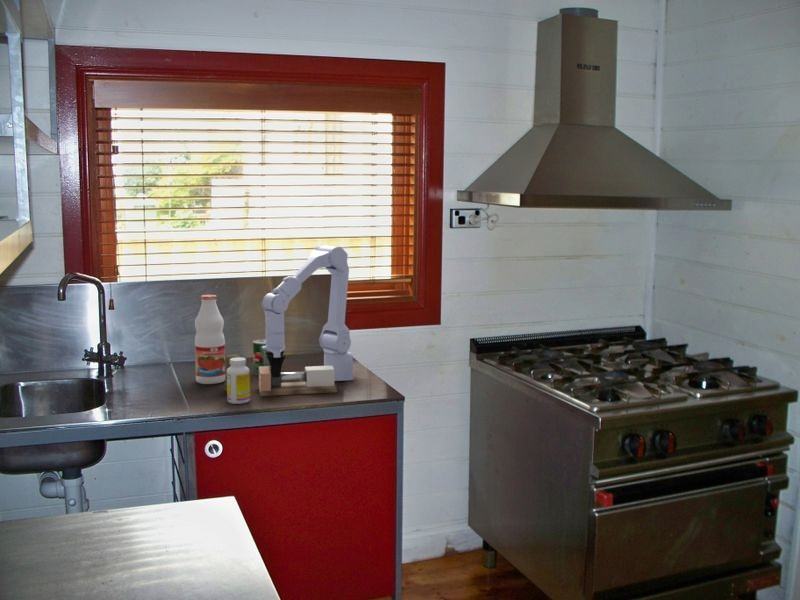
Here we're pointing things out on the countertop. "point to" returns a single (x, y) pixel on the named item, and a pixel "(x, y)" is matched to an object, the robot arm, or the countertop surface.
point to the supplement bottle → (238, 381)
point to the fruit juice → (209, 343)
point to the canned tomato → (259, 355)
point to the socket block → (264, 378)
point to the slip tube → (288, 378)
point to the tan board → (297, 389)
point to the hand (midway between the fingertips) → (275, 375)
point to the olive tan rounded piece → (227, 362)
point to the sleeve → (319, 376)
